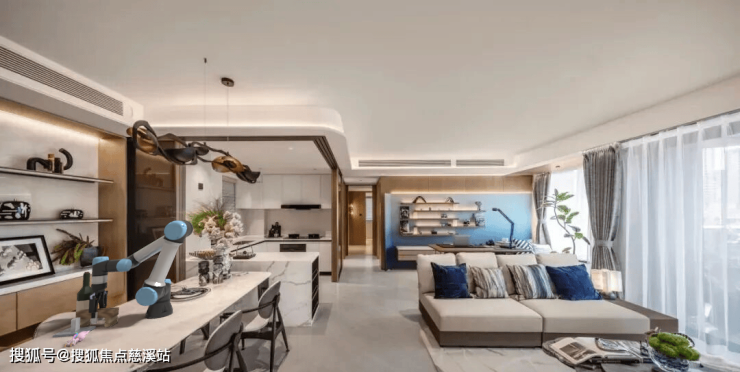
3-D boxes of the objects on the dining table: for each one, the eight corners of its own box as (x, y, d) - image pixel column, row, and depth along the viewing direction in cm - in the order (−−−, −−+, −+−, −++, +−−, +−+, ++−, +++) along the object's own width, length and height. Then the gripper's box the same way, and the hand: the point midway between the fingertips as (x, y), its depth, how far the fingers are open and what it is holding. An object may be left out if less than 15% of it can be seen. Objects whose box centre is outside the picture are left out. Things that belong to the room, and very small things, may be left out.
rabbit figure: (74, 349, 157) (94, 333, 172) (74, 338, 157) (93, 323, 171) (60, 351, 156) (81, 334, 171) (59, 339, 155) (80, 324, 170)
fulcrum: (95, 328, 184) (96, 314, 184) (81, 335, 173) (82, 320, 173) (68, 330, 181) (69, 316, 182) (52, 337, 170) (53, 322, 171)
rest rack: (117, 322, 193) (117, 314, 193) (110, 326, 186) (110, 317, 186) (84, 324, 189) (84, 316, 190) (75, 329, 183) (76, 320, 183)
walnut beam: (118, 314, 192) (119, 307, 193) (113, 317, 187) (113, 309, 188) (81, 317, 189) (82, 309, 189) (75, 319, 184) (75, 312, 184)
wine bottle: (82, 321, 195) (85, 273, 198) (71, 321, 197) (74, 272, 200) (96, 317, 204) (98, 270, 206) (86, 316, 205) (88, 270, 208)
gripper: (102, 279, 198) (100, 317, 196) (81, 286, 180) (79, 327, 178) (115, 279, 199) (113, 316, 197) (96, 285, 182) (93, 326, 180)
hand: (97, 321), depth 188 cm, fingers closed on walnut beam, 5 cm apart
